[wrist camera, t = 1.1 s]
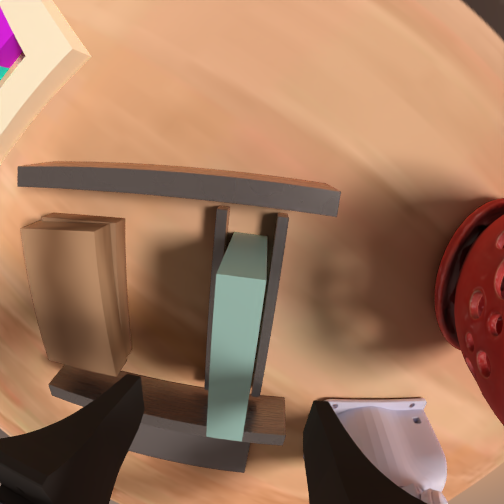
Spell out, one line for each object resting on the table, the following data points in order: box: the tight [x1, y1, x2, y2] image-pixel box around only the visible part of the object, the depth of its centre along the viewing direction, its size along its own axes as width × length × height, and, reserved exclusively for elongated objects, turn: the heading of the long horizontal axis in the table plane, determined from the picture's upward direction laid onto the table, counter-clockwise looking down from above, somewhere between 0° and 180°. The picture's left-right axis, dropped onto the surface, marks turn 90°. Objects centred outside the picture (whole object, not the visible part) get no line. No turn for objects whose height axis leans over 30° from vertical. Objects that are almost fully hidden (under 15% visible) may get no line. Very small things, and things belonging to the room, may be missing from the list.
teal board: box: [206, 232, 268, 441], centre depth 18 cm, size 2×10×7 cm, turn 173°
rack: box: [18, 161, 341, 445], centre depth 19 cm, size 18×17×4 cm
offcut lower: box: [42, 213, 132, 358], centre depth 21 cm, size 6×10×2 cm, turn 174°
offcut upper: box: [20, 221, 127, 377], centre depth 19 cm, size 6×10×2 cm, turn 177°
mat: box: [128, 423, 250, 473], centre depth 25 cm, size 14×8×1 cm, turn 83°
